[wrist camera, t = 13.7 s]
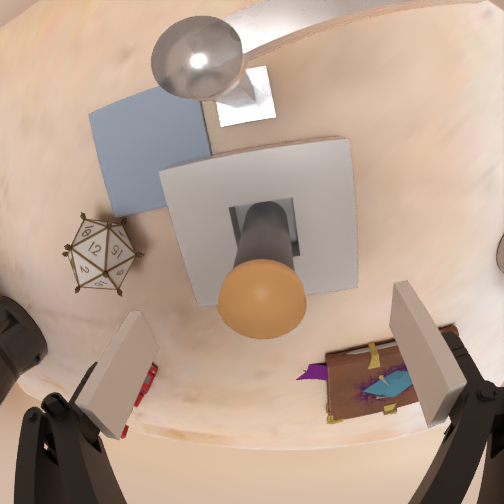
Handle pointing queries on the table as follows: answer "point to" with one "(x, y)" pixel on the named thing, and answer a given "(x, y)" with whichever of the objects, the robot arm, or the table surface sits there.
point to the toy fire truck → (142, 392)
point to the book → (366, 381)
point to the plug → (263, 278)
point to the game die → (101, 254)
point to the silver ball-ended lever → (252, 39)
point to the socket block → (261, 190)
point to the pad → (146, 145)
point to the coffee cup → (501, 255)
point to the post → (247, 99)
